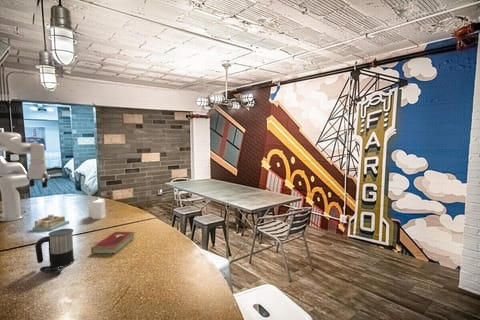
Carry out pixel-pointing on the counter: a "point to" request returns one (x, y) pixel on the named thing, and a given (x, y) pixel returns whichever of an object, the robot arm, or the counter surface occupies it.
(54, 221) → the ring
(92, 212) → the corner bracket
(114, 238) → the hardcover book
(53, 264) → the milk frother
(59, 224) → the lid with knob
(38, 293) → the counter surface
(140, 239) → the counter surface
